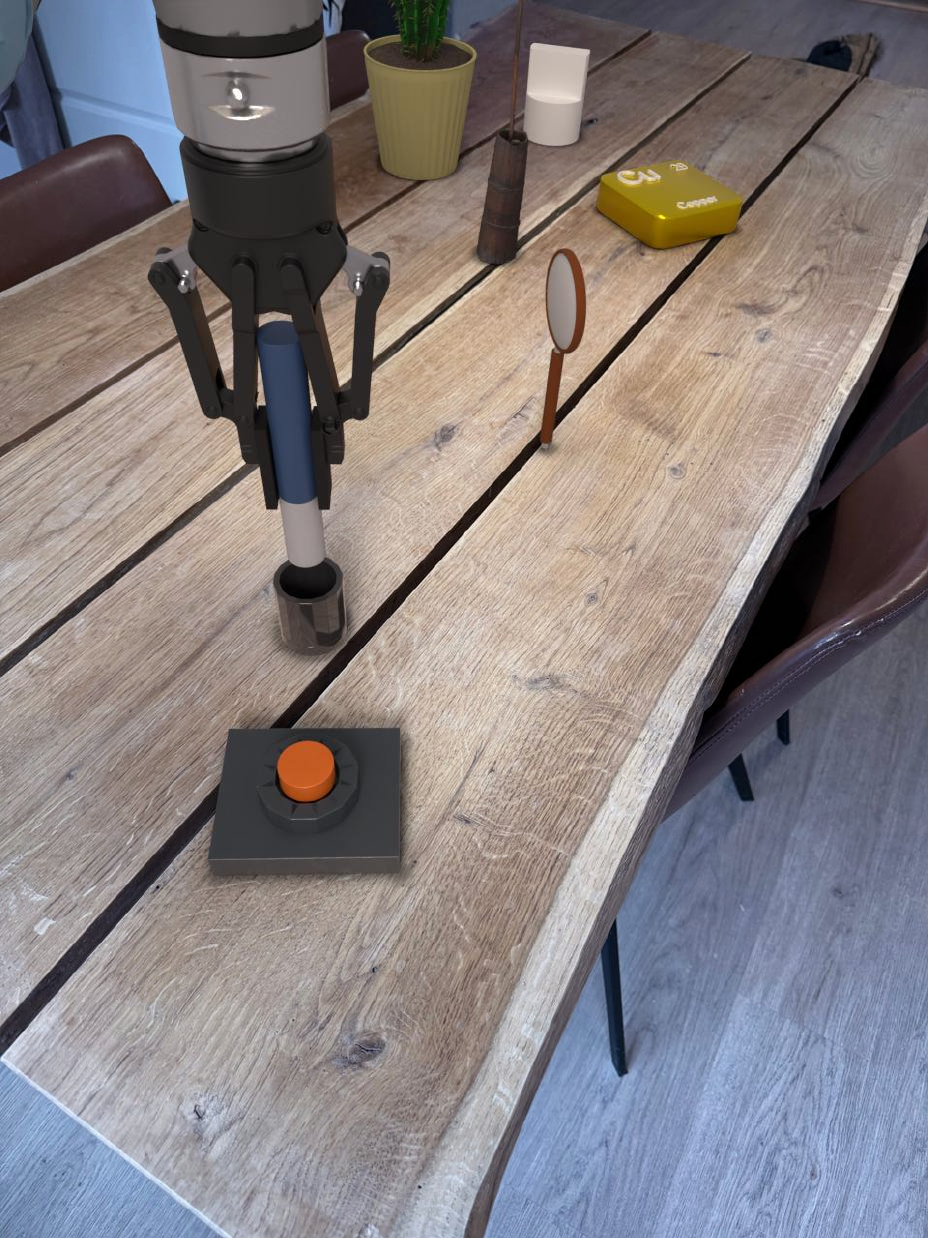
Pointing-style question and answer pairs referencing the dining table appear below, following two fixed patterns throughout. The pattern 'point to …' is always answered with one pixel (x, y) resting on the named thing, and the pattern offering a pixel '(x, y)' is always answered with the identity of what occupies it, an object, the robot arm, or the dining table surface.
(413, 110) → the potted cactus
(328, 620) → the holder
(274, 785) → the station
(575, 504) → the dining table surface
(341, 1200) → the dining table surface
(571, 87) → the base with upright slab
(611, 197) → the element tile
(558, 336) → the magnifying glass
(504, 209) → the butter churn
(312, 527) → the pen
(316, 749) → the button
